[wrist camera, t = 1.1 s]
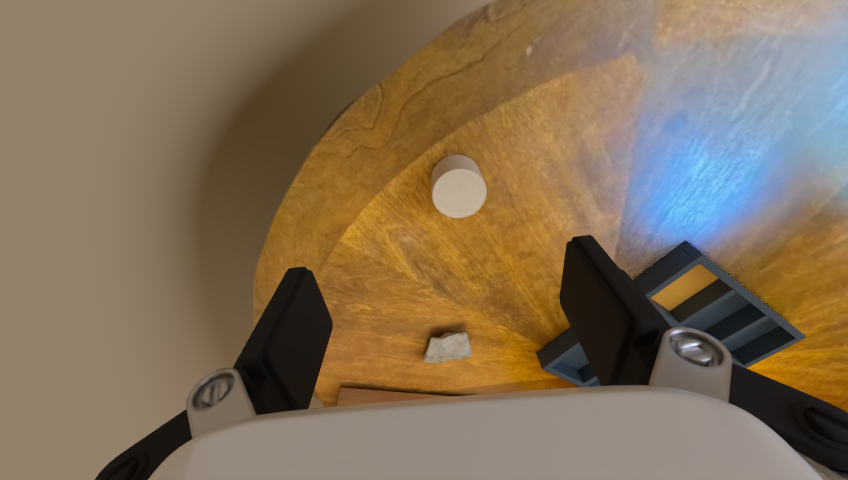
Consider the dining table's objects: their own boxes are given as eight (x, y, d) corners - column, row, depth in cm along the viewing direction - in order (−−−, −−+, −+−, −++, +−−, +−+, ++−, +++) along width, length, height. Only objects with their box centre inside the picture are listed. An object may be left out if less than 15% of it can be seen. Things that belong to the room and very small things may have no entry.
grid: (685, 240, 33) (703, 254, 31) (787, 321, 39) (807, 337, 37) (536, 352, 42) (541, 369, 40) (637, 402, 49) (646, 418, 47)
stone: (470, 352, 42) (471, 321, 39) (472, 368, 41) (474, 336, 37) (422, 355, 43) (419, 324, 39) (423, 371, 41) (419, 340, 37)
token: (450, 144, 27) (453, 157, 24) (490, 171, 29) (497, 187, 26) (421, 184, 29) (421, 201, 26) (460, 208, 31) (464, 227, 28)
